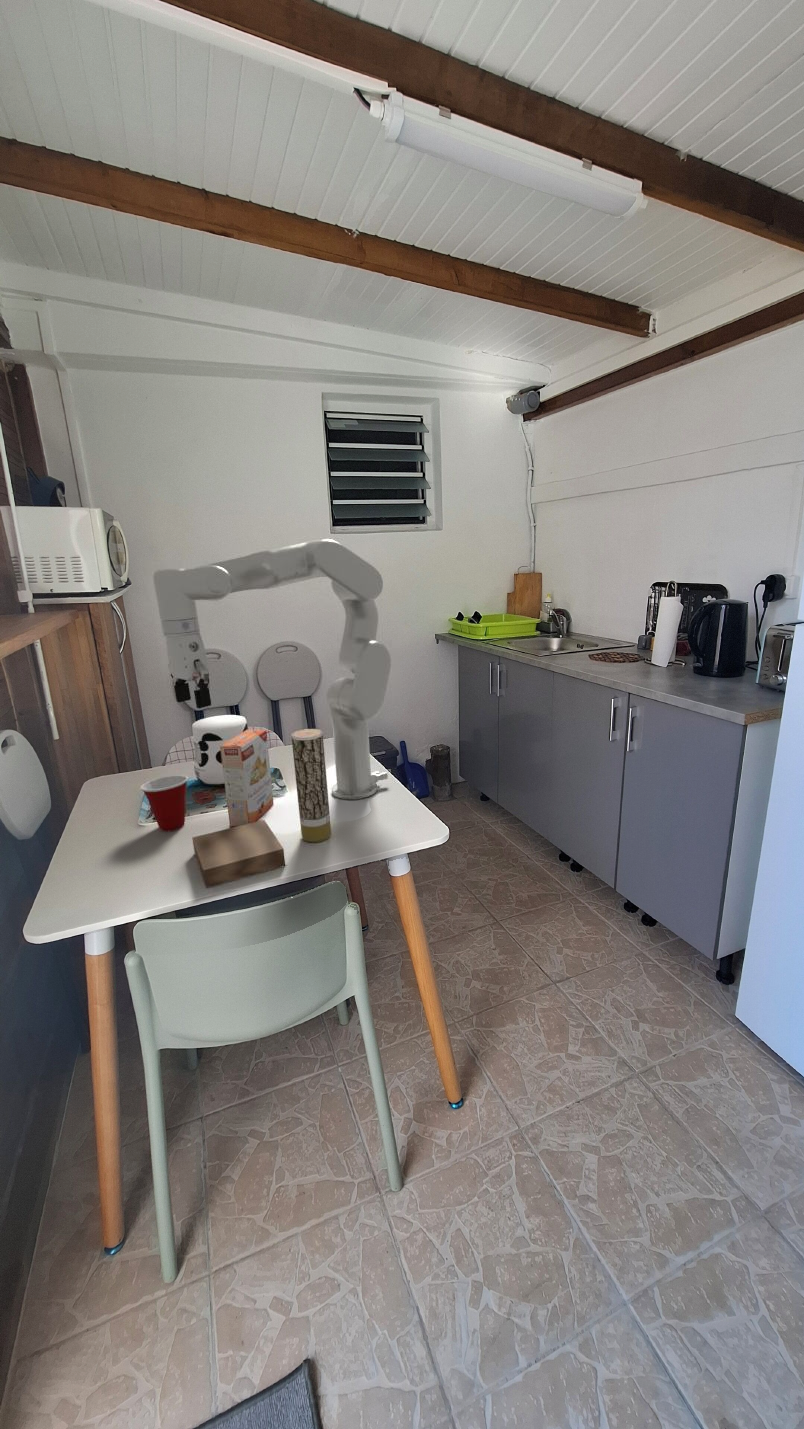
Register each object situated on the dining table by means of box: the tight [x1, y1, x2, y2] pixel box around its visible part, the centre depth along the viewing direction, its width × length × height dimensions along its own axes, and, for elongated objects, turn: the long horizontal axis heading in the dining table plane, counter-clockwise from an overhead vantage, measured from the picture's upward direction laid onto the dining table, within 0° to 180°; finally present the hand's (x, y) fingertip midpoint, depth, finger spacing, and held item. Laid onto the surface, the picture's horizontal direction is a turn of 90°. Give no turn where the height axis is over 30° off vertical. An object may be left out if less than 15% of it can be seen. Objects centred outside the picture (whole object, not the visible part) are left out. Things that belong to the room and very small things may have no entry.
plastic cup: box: [139, 774, 189, 832], centre depth 136 cm, size 11×11×12 cm
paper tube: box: [291, 728, 332, 843], centre depth 125 cm, size 7×7×25 cm
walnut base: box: [191, 819, 286, 889], centre depth 120 cm, size 16×16×4 cm
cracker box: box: [220, 729, 274, 827], centre depth 139 cm, size 14×6×21 cm, turn 168°
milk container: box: [191, 714, 249, 787], centre depth 165 cm, size 17×17×18 cm
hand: (193, 703), depth 125 cm, fingers open, 9 cm apart
